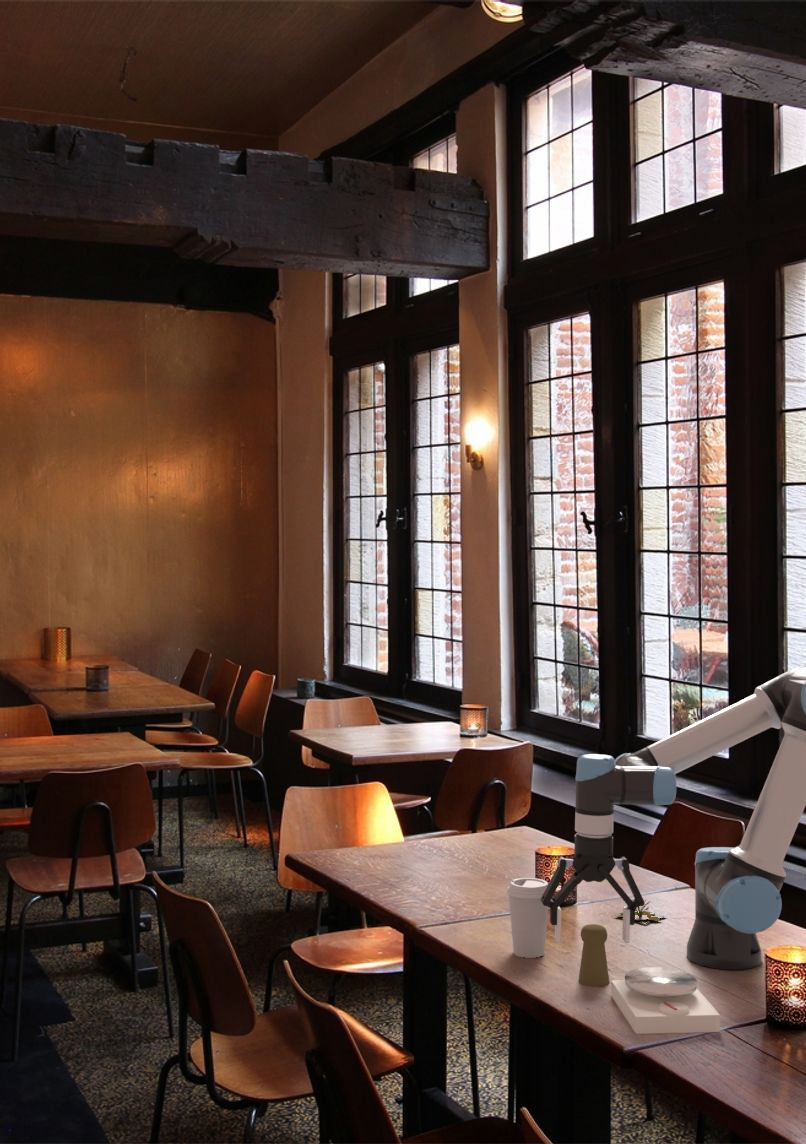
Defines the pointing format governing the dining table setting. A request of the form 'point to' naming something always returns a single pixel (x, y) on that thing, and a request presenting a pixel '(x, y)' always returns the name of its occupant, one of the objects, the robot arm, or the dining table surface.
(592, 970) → the cork
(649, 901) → the lily flower
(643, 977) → the pan
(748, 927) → the robot arm
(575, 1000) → the dining table surface
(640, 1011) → the scale base
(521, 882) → the coffee cup
